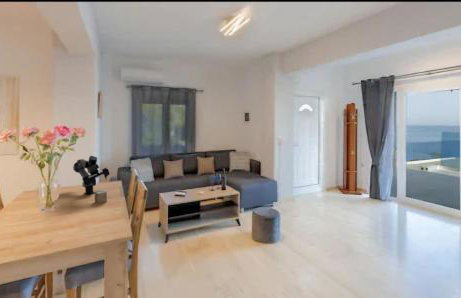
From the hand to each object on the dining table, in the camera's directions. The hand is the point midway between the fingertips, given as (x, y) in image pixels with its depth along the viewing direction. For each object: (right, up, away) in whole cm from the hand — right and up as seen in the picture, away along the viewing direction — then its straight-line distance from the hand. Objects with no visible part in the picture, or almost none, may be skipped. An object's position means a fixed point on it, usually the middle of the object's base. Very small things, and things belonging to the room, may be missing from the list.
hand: (100, 182), depth 196 cm
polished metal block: (+2, -14, -3) cm, 15 cm away
